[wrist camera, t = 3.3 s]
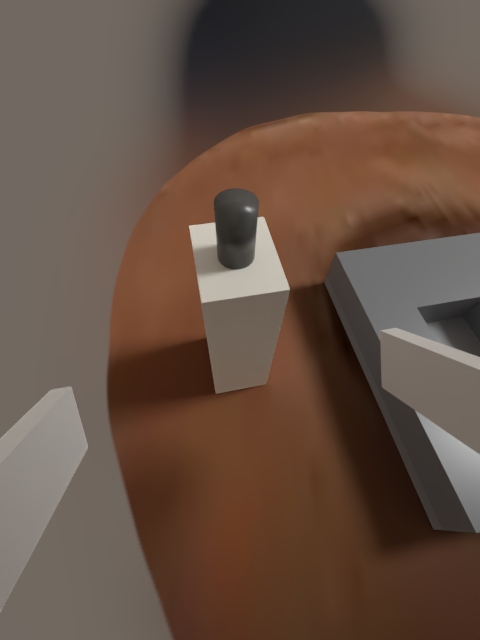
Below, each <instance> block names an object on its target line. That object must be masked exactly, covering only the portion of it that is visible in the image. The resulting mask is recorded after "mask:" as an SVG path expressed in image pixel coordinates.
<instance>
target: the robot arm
mask: <svg viewBox="0 0 480 640" xmlns="http://www.w3.org/2000/svg"><path fill="white" fill-rule="evenodd" d="M380 345H381V380H382V388H384V389H385V390H387V391H388V392H389V393H391V394H392V395H394V396H395V397H397V398H398V399H400V400H401V401H403V402H404V403H405V404H407V405H408V406H410V407H411V408H413V409H414V410H416V411H417V412H419V413H420V414H421V415H423V416H424V417H426V418H427V419H429V420H430V421H432V422H433V423H435V424H436V425H437V426H439V427H440V428H442V429H443V430H445V431H446V432H448V433H449V434H451V435H452V436H453V437H455V438H456V439H458V440H459V441H461V442H462V443H464V444H465V445H467V446H468V447H469V448H471V449H472V450H474V451H475V452H477V453H478V454H480V357H478V356H475V355H472V354H469V353H467V352H464V351H461V350H458V349H455V348H452V347H449V346H447V345H444V344H441V343H438V342H435V341H432V340H430V339H427V338H424V337H421V336H418V335H415V334H412V333H410V332H407V331H404V330H401V329H398V328H391V329H386V330H380ZM87 449H88V444H87V440H86V437H85V433H84V429H83V426H82V423H81V419H80V415H79V411H78V408H77V404H76V401H75V397H74V393H73V390H72V386H69V387H63V388H57V389H52V390H50V391H49V392H48V393H47V394H46V395H45V396H44V397H43V398H42V399H41V400H40V401H39V402H37V403H36V404H35V405H34V406H33V407H32V408H31V409H30V410H29V411H28V412H27V413H26V414H25V415H24V416H23V417H22V418H21V419H20V420H19V421H18V422H17V423H16V424H15V425H14V426H13V427H12V428H10V430H8V431H7V432H6V433H5V434H4V435H3V436H2V437H1V438H0V613H1V611H2V609H3V607H4V605H5V604H6V602H7V600H8V598H9V596H10V594H11V592H12V590H13V589H14V587H15V585H16V583H17V581H18V579H19V577H20V575H21V573H22V571H23V569H24V568H25V566H26V564H27V562H28V560H29V558H30V556H31V554H32V553H33V551H34V549H35V547H36V545H37V543H38V541H39V540H40V538H41V536H42V534H43V532H44V530H45V528H46V526H47V524H48V523H49V521H50V519H51V517H52V515H53V513H54V511H55V509H56V508H57V506H58V504H59V501H60V500H61V498H62V496H63V494H64V492H65V491H66V488H67V487H68V485H69V483H70V481H71V479H72V477H73V475H74V473H75V472H76V470H77V468H78V466H79V464H80V462H81V460H82V459H83V457H84V455H85V453H86V451H87Z"/></svg>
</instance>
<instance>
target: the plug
mask: <svg viewBox="0 0 480 640" xmlns="http://www.w3.org/2000/svg"><path fill="white" fill-rule="evenodd" d="M258 207H259V201H258V198H257V197H256V196H255V195H254V194H253V193H252V192H250V191H247V190H244V189H236V188H235V189H228V190H225V191H222V192H221V193H219V194H218V195H217V196H216V197H215V200H214V211H215V223H208V224H200V225H192V226H189V229H190V235H191V241H192V248H193V254H194V261H195V267H196V273H197V280H198V286H199V292H200V299H201V305H202V312H203V318H204V324H205V331H206V337H207V343H208V350H209V356H210V362H211V368H212V374H213V381H214V387H215V393H216V394H218V393H223V392H228V391H234V390H239V389H244V388H249V387H255V386H260V385H265V384H267V380H268V376H269V372H270V368H271V364H272V360H273V356H274V352H275V348H276V344H277V340H278V336H279V332H280V328H281V324H282V320H283V316H284V312H285V308H286V304H287V300H288V296H289V292H290V288H289V285H288V282H287V280H286V277H285V274H284V271H283V268H282V266H281V263H280V260H279V257H278V255H277V252H276V249H275V246H274V244H273V241H272V238H271V235H270V232H269V230H268V227H267V224H266V221H265V219H264V217H258Z"/></svg>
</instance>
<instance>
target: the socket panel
mask: <svg viewBox="0 0 480 640" xmlns="http://www.w3.org/2000/svg"><path fill="white" fill-rule="evenodd" d="M324 283H325V286H326V288H327V290H328V292H329V295H330V297H331V299H332V301H333V304H334V306H335V308H336V311H337V313H338V315H339V317H340V320H341V322H342V324H343V326H344V329H345V331H346V333H347V335H348V338H349V340H350V342H351V344H352V347H353V349H354V351H355V354H356V356H357V358H358V360H359V363H360V365H361V367H362V369H363V372H364V374H365V376H366V378H367V381H368V383H369V385H370V387H371V390H372V392H373V394H374V396H375V399H376V401H377V403H378V406H379V408H380V410H381V412H382V415H383V417H384V419H385V421H386V424H387V426H388V428H389V430H390V433H391V435H392V437H393V439H394V442H395V444H396V446H397V448H398V451H399V453H400V455H401V458H402V460H403V462H404V464H405V467H406V469H407V471H408V473H409V476H410V478H411V480H412V482H413V485H414V487H415V489H416V491H417V494H418V496H419V498H420V501H421V503H422V505H423V507H424V510H425V512H426V514H427V516H428V519H429V521H430V523H431V525H432V528H433V530H445V531H457V532H469V533H479V532H480V454H478V453H477V452H475V451H474V450H472V449H471V448H469V447H468V446H467V445H465V444H464V443H462V442H461V441H459V440H458V439H456V438H455V437H453V436H452V435H451V434H449V433H448V432H446V431H445V430H443V429H442V428H440V427H439V426H437V425H436V424H435V423H433V422H432V421H430V420H429V419H427V418H426V417H424V416H423V415H421V414H420V413H419V412H417V411H416V410H414V409H413V408H411V407H410V406H408V405H407V404H405V403H404V402H403V401H401V400H400V399H398V398H397V397H395V396H394V395H392V394H391V393H389V392H388V391H387V390H385V389H384V388H382V380H381V345H380V330H386V329H391V328H398V329H401V330H404V331H407V332H410V333H412V334H415V335H418V336H421V337H424V338H427V339H430V340H432V341H435V342H438V343H441V344H444V345H447V346H449V347H452V348H455V349H458V350H461V351H464V352H467V353H469V354H472V355H475V356H478V357H480V233H475V234H468V235H461V236H453V237H446V238H439V239H432V240H425V241H417V242H410V243H403V244H396V245H389V246H381V247H374V248H367V249H360V250H353V251H346V252H338V253H336V254H335V256H334V259H333V262H332V264H331V267H330V269H329V272H328V274H327V277H326V279H325V282H324Z"/></svg>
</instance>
